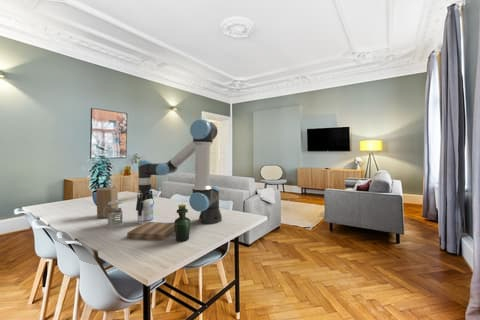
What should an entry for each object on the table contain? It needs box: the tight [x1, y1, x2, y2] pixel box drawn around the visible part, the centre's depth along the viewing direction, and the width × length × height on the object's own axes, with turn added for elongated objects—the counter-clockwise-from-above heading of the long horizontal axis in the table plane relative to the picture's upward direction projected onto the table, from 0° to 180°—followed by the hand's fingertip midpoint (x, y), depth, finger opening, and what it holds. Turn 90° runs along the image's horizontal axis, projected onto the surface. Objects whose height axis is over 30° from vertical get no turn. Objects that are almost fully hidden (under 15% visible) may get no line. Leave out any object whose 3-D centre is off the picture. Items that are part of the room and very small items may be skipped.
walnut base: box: [126, 221, 175, 241], centre depth 122 cm, size 20×18×3 cm
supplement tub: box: [136, 198, 154, 225], centre depth 140 cm, size 10×10×15 cm
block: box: [96, 186, 119, 219], centre depth 153 cm, size 10×10×20 cm
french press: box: [103, 184, 125, 228], centre depth 135 cm, size 10×12×25 cm
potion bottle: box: [173, 203, 191, 243], centre depth 112 cm, size 8×8×18 cm
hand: (145, 218), depth 141 cm, fingers closed on supplement tub, 9 cm apart
